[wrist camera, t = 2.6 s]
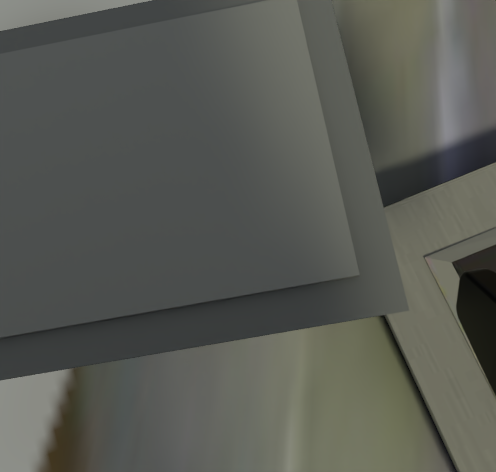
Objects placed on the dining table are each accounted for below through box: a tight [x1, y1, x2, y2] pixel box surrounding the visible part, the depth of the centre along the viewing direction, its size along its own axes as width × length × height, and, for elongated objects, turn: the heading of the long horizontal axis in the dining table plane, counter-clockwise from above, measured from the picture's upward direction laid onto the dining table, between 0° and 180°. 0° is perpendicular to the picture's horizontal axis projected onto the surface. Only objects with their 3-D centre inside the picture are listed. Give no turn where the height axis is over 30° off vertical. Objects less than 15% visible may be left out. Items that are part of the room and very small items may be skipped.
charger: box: [0, 0, 410, 380], centre depth 11 cm, size 4×5×13 cm
